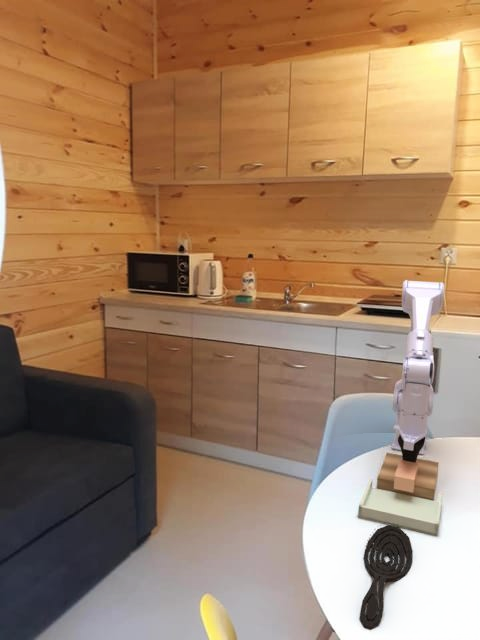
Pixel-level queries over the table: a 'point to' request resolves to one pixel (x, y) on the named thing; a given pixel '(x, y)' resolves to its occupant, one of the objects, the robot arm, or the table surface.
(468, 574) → the table surface
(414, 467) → the tile rear
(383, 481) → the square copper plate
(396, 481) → the tile front
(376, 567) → the hairbrush
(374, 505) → the tray
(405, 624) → the table surface
